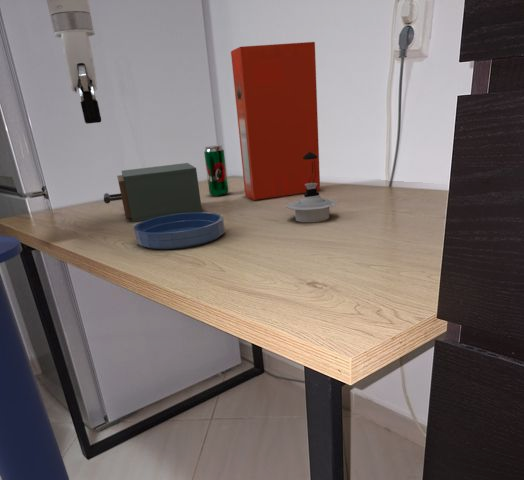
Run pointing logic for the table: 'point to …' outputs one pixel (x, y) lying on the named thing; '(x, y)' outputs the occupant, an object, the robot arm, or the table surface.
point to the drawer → (123, 197)
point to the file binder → (277, 117)
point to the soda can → (216, 170)
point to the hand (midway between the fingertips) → (93, 122)
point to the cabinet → (162, 191)
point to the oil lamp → (311, 202)
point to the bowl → (179, 230)
